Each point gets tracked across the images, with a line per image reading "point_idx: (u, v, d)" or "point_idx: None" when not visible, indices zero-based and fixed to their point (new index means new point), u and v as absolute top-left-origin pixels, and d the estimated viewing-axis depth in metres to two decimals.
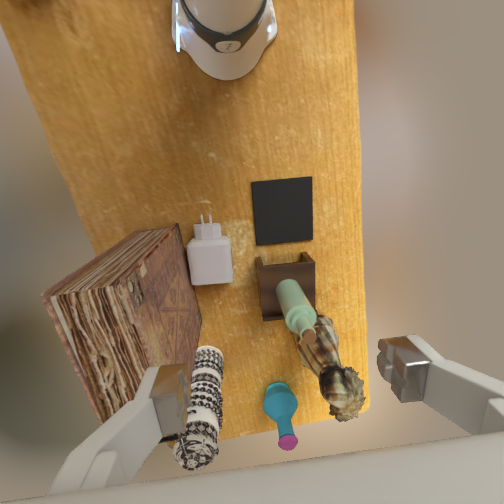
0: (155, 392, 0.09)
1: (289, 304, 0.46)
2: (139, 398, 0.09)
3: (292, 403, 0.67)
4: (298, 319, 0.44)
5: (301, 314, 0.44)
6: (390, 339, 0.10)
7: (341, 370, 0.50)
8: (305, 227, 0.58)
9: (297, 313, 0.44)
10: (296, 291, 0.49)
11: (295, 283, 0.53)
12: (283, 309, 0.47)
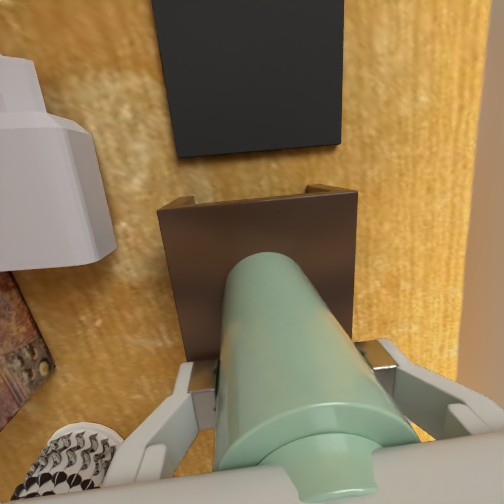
0: (193, 387, 0.09)
1: (246, 382, 0.07)
2: (178, 393, 0.09)
3: None
4: None
5: None
6: (361, 343, 0.10)
7: None
8: (320, 102, 0.20)
9: (295, 486, 0.05)
10: (291, 297, 0.10)
11: (289, 265, 0.15)
12: (217, 396, 0.08)
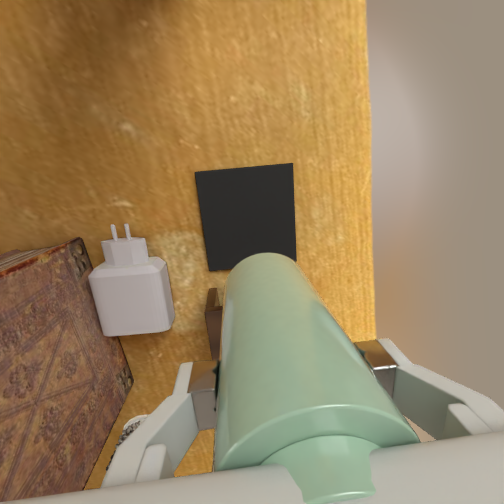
0: (193, 387, 0.09)
1: (247, 384, 0.07)
2: (178, 393, 0.09)
3: None
4: None
5: None
6: (361, 343, 0.10)
7: None
8: (284, 243, 0.37)
9: None
10: (291, 298, 0.10)
11: (289, 265, 0.15)
12: (218, 398, 0.08)
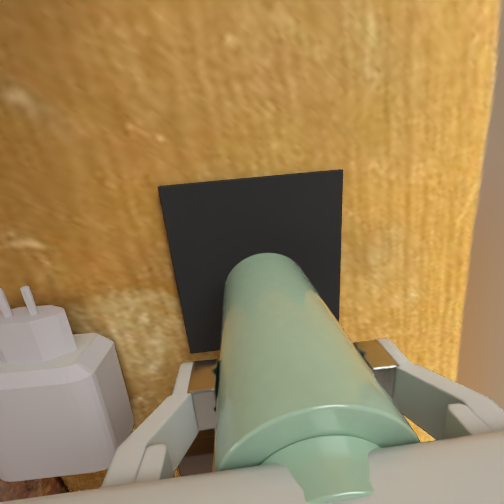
0: (193, 387, 0.09)
1: (247, 384, 0.07)
2: (178, 393, 0.09)
3: None
4: None
5: None
6: (361, 343, 0.10)
7: None
8: None
9: None
10: (291, 298, 0.10)
11: (289, 265, 0.15)
12: (218, 398, 0.08)
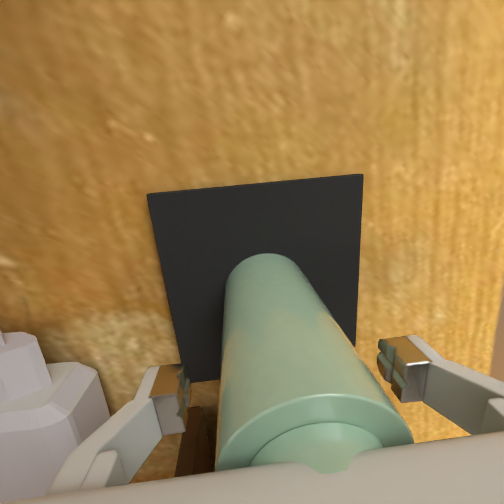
0: (155, 392, 0.09)
1: (248, 376, 0.08)
2: (139, 398, 0.09)
3: None
4: None
5: None
6: (390, 339, 0.10)
7: None
8: None
9: None
10: (290, 296, 0.11)
11: (288, 265, 0.15)
12: (220, 391, 0.09)
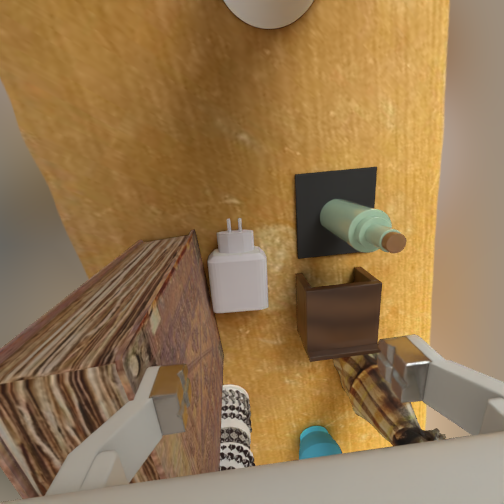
0: (155, 392, 0.09)
1: (353, 212, 0.33)
2: (139, 398, 0.09)
3: None
4: (370, 226, 0.30)
5: (374, 219, 0.31)
6: (390, 339, 0.10)
7: (426, 436, 0.36)
8: None
9: (368, 219, 0.31)
10: (356, 203, 0.36)
11: None
12: (342, 222, 0.34)
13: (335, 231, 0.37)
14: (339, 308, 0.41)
